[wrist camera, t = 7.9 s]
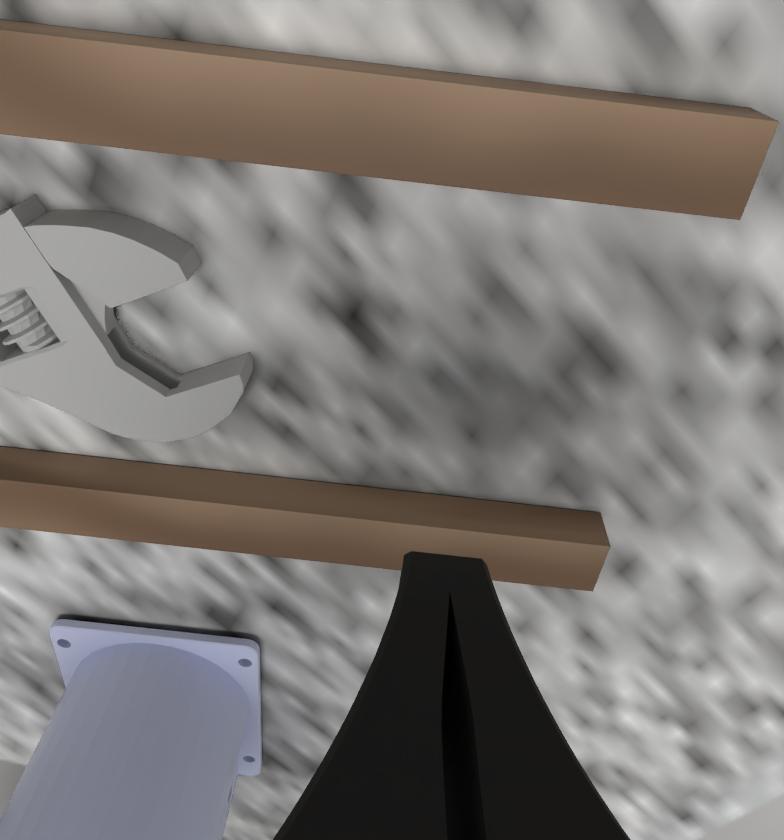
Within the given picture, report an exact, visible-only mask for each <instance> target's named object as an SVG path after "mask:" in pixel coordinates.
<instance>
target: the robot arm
mask: <svg viewBox="0 0 784 840" xmlns="http://www.w3.org/2000/svg"><path fill="white" fill-rule="evenodd" d="M49 634H50V637H51V641H52V644H53V647H54V651H55V654H56V657H57V661H58V664H59V667H60V671H61V674H62V677H63V681H64V684H65V688H66V690H65V692H64V694H63V696H62V697H61V699H60V701H59V703H58V705H57V707H56V709H55V711H54V713H53V715H52V717H51V719H50V721H49V723H48V725H47V727H46V729H45V731H44V733H43V735H42V737H41V739H40V741H39V743H38V745H37V747H36V749H35V751H34V753H33V755H32V757H31V759H30V761H29V763H28V765H27V767H26V769H25V771H24V773H23V775H22V777H21V779H20V781H19V783H18V785H17V787H16V789H15V791H14V793H13V795H12V797H11V799H10V801H9V803H8V804H7V807H6V808H5V811H4V812H3V815H2V816H1V819H0V840H222V837H223V833H224V829H225V825H226V821H227V816H228V812H229V808H230V804H231V800H232V796H233V792H234V788H235V783H236V779H237V775H244V776H256V775H258V774H260V772H261V768H262V731H261V683H260V648H259V645H258V644H257V643H256V642H255V641H253V640H250V639H244V638H235V637H226V636H216V635H207V634H198V633H188V632H179V631H170V630H161V629H151V628H142V627H133V626H123V625H114V624H105V623H96V622H86V621H77V620H68V619H59V620H56V621H54V623H53V624H52V626H51V627H50V629H49ZM273 840H630V838H629V837H628V836H627V834H626V833H625V832H624V830H623V829H622V827H621V826H620V825H619V823H618V822H617V820H616V819H615V817H614V816H613V814H612V813H611V811H610V810H609V808H608V807H607V805H606V804H605V802H604V801H603V799H602V798H601V796H600V795H599V793H598V792H597V790H596V789H595V787H594V785H593V784H592V782H591V781H590V779H589V777H588V776H587V774H586V772H585V771H584V769H583V768H582V766H581V764H580V763H579V761H578V760H577V758H576V756H575V755H574V753H573V751H572V750H571V748H570V746H569V744H568V743H567V741H566V739H565V737H564V736H563V734H562V732H561V730H560V729H559V727H558V725H557V723H556V721H555V719H554V718H553V716H552V714H551V712H550V710H549V708H548V706H547V705H546V703H545V701H544V699H543V697H542V695H541V693H540V691H539V689H538V687H537V685H536V683H535V681H534V679H533V677H532V675H531V673H530V671H529V669H528V667H527V664H526V662H525V660H524V658H523V656H522V654H521V652H520V650H519V647H518V645H517V643H516V641H515V639H514V636H513V634H512V632H511V629H510V627H509V624H508V622H507V620H506V617H505V615H504V612H503V610H502V607H501V605H500V602H499V599H498V597H497V594H496V591H495V588H494V586H493V583H492V580H491V577H490V573H489V570H488V567H487V564H486V563H485V562H484V561H483V559H481V558H471V557H462V556H453V555H444V554H434V553H425V552H416V551H410V552H409V553H407V554H405V555H404V557H403V564H402V571H401V577H400V584H399V589H398V593H397V597H396V600H395V603H394V606H393V610H392V613H391V616H390V619H389V621H388V624H387V627H386V629H385V632H384V635H383V637H382V640H381V642H380V645H379V648H378V650H377V653H376V655H375V657H374V660H373V662H372V664H371V666H370V669H369V671H368V673H367V675H366V677H365V679H364V682H363V684H362V686H361V688H360V690H359V692H358V695H357V697H356V699H355V701H354V703H353V705H352V707H351V709H350V711H349V713H348V715H347V717H346V719H345V721H344V723H343V724H342V726H341V728H340V730H339V732H338V734H337V736H336V737H335V739H334V741H333V743H332V745H331V746H330V748H329V750H328V752H327V754H326V755H325V757H324V759H323V761H322V762H321V764H320V766H319V767H318V769H317V771H316V772H315V774H314V776H313V777H312V779H311V781H310V782H309V784H308V786H307V787H306V789H305V791H304V792H303V794H302V796H301V797H300V799H299V801H298V802H297V804H296V805H295V807H294V808H293V810H292V812H291V813H290V815H289V816H288V818H287V819H286V821H285V822H284V824H283V825H282V827H281V828H280V830H279V831H278V833H277V834H276V836H275V837H274V839H273Z"/></svg>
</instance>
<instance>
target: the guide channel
mask: <svg viewBox="0 0 784 840" xmlns="http://www.w3.org/2000/svg"><path fill="white" fill-rule="evenodd" d="M778 123H779V121H777V120H775V119H772V118H770V117H768V116H766V115H764V114H762V113H760V112H758V111H756V110H754V109H752V108H747V107H739V106H730V105H722V104H713V103H705V102H696V101H688V100H679V99H671V98H663V97H654V96H646V95H637V94H629V93H620V92H612V91H603V90H595V89H586V88H578V87H569V86H561V85H553V84H544V83H536V82H527V81H519V80H510V79H502V78H493V77H485V76H476V75H468V74H460V73H451V72H443V71H434V70H426V69H417V68H409V67H400V66H392V65H383V64H375V63H366V62H358V61H350V60H341V59H333V58H324V57H316V56H307V55H299V54H290V53H282V52H273V51H265V50H256V49H248V48H240V47H231V46H223V45H214V44H206V43H197V42H189V41H180V40H172V39H163V38H155V37H146V36H138V35H130V34H121V33H113V32H104V31H96V30H87V29H79V28H70V27H62V26H53V25H45V24H36V23H28V22H20V21H11V20H3V19H0V134H5V135H13V136H22V137H31V138H39V139H48V140H56V141H65V142H74V143H82V144H91V145H99V146H108V147H117V148H125V149H134V150H142V151H151V152H160V153H168V154H177V155H185V156H194V157H203V158H211V159H220V160H229V161H237V162H246V163H254V164H263V165H272V166H280V167H289V168H297V169H306V170H315V171H323V172H332V173H340V174H349V175H358V176H366V177H375V178H384V179H392V180H401V181H409V182H418V183H427V184H435V185H444V186H452V187H461V188H470V189H478V190H487V191H495V192H504V193H513V194H521V195H530V196H538V197H547V198H556V199H564V200H573V201H582V202H590V203H599V204H607V205H616V206H625V207H633V208H642V209H650V210H659V211H668V212H676V213H685V214H693V215H702V216H711V217H719V218H728V219H737V220H740V219H741V216H742V214H743V211H744V209H745V206H746V204H747V201H748V199H749V196H750V194H751V191H752V189H753V186H754V184H755V181H756V179H757V176H758V174H759V171H760V169H761V166H762V163H763V161H764V158H765V156H766V153H767V151H768V148H769V146H770V143H771V141H772V138H773V136H774V133H775V131H776V128H777V126H778ZM0 527H9V528H18V529H27V530H36V531H45V532H55V533H64V534H73V535H82V536H91V537H100V538H110V539H119V540H128V541H137V542H146V543H155V544H165V545H174V546H183V547H192V548H201V549H210V550H219V551H229V552H238V553H247V554H256V555H265V556H274V557H284V558H293V559H302V560H311V561H320V562H329V563H339V564H348V565H357V566H366V567H375V568H384V569H394V570H402V564H403V557H404V555H405V554H407V553H409V552H410V551H416V552H425V553H434V554H444V555H453V556H462V557H471V558H481V559H483V561H484V562H485V563H486V564H487V567H488V570H489V573H490V577H491V580H494V581H504V582H513V583H522V584H531V585H540V586H549V587H558V588H568V589H577V590H586V591H593V589H594V587H595V584H596V582H597V579H598V577H599V574H600V572H601V569H602V567H603V564H604V562H605V559H606V556H607V554H608V551H609V549H610V544H609V540H608V537H607V533H606V530H605V527H604V523H603V520H602V517H601V513H597V512H588V511H579V510H570V509H561V508H552V507H543V506H534V505H525V504H516V503H507V502H498V501H489V500H480V499H471V498H461V497H452V496H443V495H434V494H425V493H416V492H407V491H398V490H389V489H380V488H371V487H362V486H353V485H344V484H335V483H326V482H317V481H308V480H299V479H290V478H281V477H272V476H263V475H253V474H244V473H235V472H226V471H217V470H208V469H199V468H190V467H181V466H172V465H163V464H154V463H145V462H136V461H127V460H118V459H109V458H100V457H91V456H82V455H73V454H64V453H55V452H45V451H36V450H27V449H18V448H9V447H0Z"/></svg>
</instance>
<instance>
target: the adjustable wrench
mask: <svg viewBox="0 0 784 840" xmlns="http://www.w3.org/2000/svg"><path fill="white" fill-rule="evenodd" d="M201 263H202V262H201V260H200V258H199V256H198V254H197V252H196V250H195V248H194V246H193V245H191V244H190V243H188V242H186V241H185V240H183V239H181V238H180V237H178V236H176V235H174V234H173V233H171V232H168V231H166V230H164V229H162V228H160V227H158V226H155V225H153V224H151V223H148V222H145V221H142V220H140V219H137V218H134V217H131V216H126V215H122V214H117V213H113V212H106V211H94V210H53V211H48V212H47V211H46V209H45V208H44V206H43V205H42V203H41V202H40V200H39V199H38V197H37V196H36V194H35V195H33V196H31V197H30V198H28V199H26V200H24V201H23V202H21V203H19V204H18V205H16V206H14V207H12V208H9V209H7V210H4V211H2V212H0V386H2V387H5V388H8V389H10V390H13V391H16V392H19V393H21V394H24V395H26V396H29V397H31V398H34V399H36V400H39V401H41V402H44V403H46V404H49V405H51V406H53V407H55V408H57V409H60V410H62V411H64V412H66V413H68V414H70V415H73V416H75V417H77V418H79V419H81V420H84V421H86V422H88V423H90V424H92V425H95V426H97V427H99V428H101V429H103V430H105V431H108V432H110V433H112V434H116V435H119V436H122V437H126V438H130V439H135V440H140V441H149V442H171V441H176V440H182V439H187V438H192V437H195V436H197V435H199V434H201V433H204V432H206V431H208V430H210V429H211V428H213V427H214V426H215V425H217V424H218V423H219V422H220V421H222V420H223V419H224V418H226V417H227V416H228V415H230V414H231V412H232V410H233V409H234V407H235V405H236V403H237V402H238V400H239V398H240V397H241V395H242V393H243V391H244V389H245V387H246V385H247V383H248V381H249V378H250V376H251V374H252V372H253V359H252V356H251V353H250V352H249V353H246V354H243V355H240V356H237V357H234V358H231V359H228V360H225V361H221V362H218V363H215V364H212V365H209V366H206V367H203V368H200V369H197V370H193V371H190V372H187V373H184V374H181V375H179V374H178V373H176V372H175V371H173V370H171V369H170V368H168V367H167V366H165V365H164V364H162V363H161V362H159V361H157V360H156V359H154V358H153V357H151V356H150V355H148V354H146V353H145V352H143V351H142V350H140V349H139V348H137V347H136V346H134V345H133V344H132V343H131V341H130V340H129V338H128V336H127V335H126V333H125V331H124V330H123V328H122V326H121V325H120V323H119V322H118V320H117V318H116V317H115V315H114V307H116V306H119V305H121V304H124V303H127V302H130V301H133V300H136V299H138V298H141V297H144V296H147V295H150V294H152V293H155V292H158V291H161V290H164V289H166V288H169V287H172V286H175V285H178V284H180V283H183V282H186V281H188V280H189V278H190V277H191V276H192V274H193V273H194V272H195V271H196V269H197V268H198V267H199V266H200V264H201Z"/></svg>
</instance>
